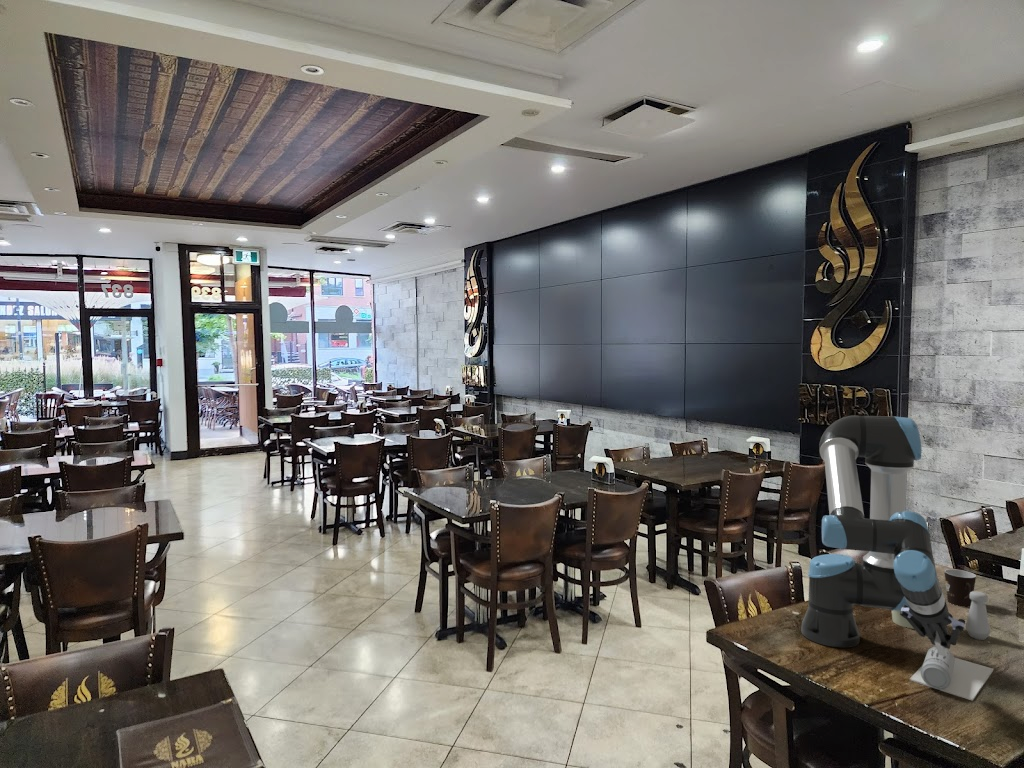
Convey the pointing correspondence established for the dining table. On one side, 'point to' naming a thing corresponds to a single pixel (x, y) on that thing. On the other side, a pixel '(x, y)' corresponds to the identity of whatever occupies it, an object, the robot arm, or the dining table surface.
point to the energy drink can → (937, 669)
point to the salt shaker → (978, 616)
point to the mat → (962, 679)
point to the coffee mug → (959, 586)
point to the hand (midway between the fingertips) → (943, 650)
